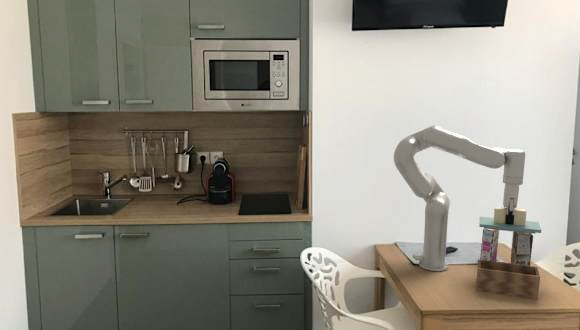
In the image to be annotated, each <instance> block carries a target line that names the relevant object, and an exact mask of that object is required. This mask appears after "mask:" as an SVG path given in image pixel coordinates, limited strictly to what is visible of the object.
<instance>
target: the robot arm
mask: <svg viewBox="0 0 580 330" xmlns="http://www.w3.org/2000/svg"><path fill="white" fill-rule="evenodd" d="M429 148H434V149H437V150H440V151H442V152H445V153H448V154H451V155H455V156H458V157H460V158H462V159H463V160H467V161H469V162H472V163H474V164H477V165H480V166H483V167H486V168H488V169H489V168H490V169H500V168H501V167H504V168H503V175H502V184H504V191H503V197H502V198H503V199H502V201H503V202H502V206H503V208H507V214H506V218H505V224H510V225H513V224H514V209H518V208H517V207H518V201H519V192H520V186H521V185H523V184H524V183H523V182H524V174H525V173H524V171H525V163H526V152H525V151H524V150H522V149H516V148H513V149H512V148H511V149H508V148H507V149H506V148H501V147H496V146H495V147H490V148H489V147H488V146H487V147H486V146H485V145H484V146H483V145H480V144H478V143H476V142H474V141H473V140H470V138H468V137H466V136H464V135H461V134H458V133H454V132H452V131H448V130H446V129H443V128H442V127H440V126H438V125H431V126H429V127H426V128H424V129H422V130H420V131H417V132H415V133H412V134H410V135H408V136H406V137H404V138H403V139H402V140H400V141H399V142H398V144H397V146H396V147H395V150H394V152H393V162H394V165H395V167H396V170H397V171H398V173H399V174H400V175H401V177H402V178H403V179H404V181H405V182H406V183H407V185H408V187H409V188H410V189H411V191H412V193H414V195H415V196H417V197H418V198H420V199H423V200H424V202H425V203H426V204H425V209H424V231H423V232H424V234H423V235H424V236H423V248H422V249H423V252H422V254H414V253H413V254H412V259H414V261H419V262H418V266H419V267H420V268H422V269H424V270H425V271H431V272H444V271H447V270H449V263H448V262H446V253H447V242H448V241H447V240H448V239H447V238H448V225H449V224H448V223H449V221H448V220H449V210H450V205H451V203H450V202H451V201H450V198H449V196H448V195H447V194H446V192H445V191H444V190H443V188H442V186H441V185H440V184H439V182H438V181H437V180H436V179H435V177H434V176H433V175H431V174H429V173H425V172H424V171H423V170H422V168H421V166H420V165H419V164H418V163H417V162H416V160H415V155H416V154H417V153H419V152H422V151H425V150H427V149H429ZM508 209H509V210H508Z"/></svg>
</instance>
